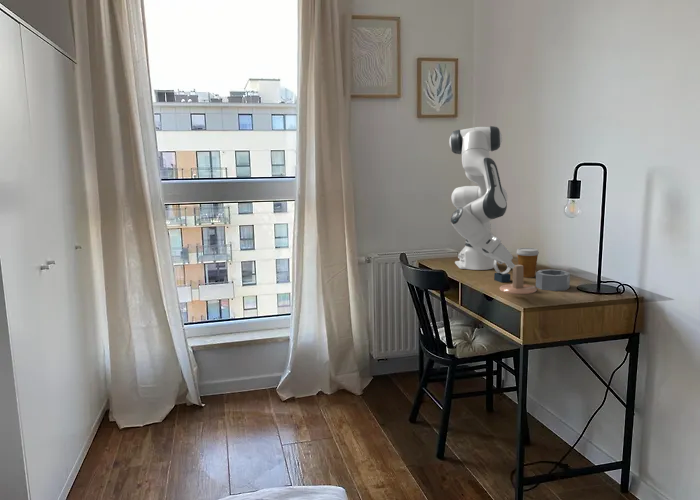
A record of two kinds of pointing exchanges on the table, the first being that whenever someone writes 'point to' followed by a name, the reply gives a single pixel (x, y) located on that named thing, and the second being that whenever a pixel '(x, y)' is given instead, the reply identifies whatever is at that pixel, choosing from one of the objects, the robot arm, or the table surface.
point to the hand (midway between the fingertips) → (507, 264)
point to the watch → (501, 274)
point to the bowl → (552, 280)
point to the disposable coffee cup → (528, 261)
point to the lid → (518, 283)
